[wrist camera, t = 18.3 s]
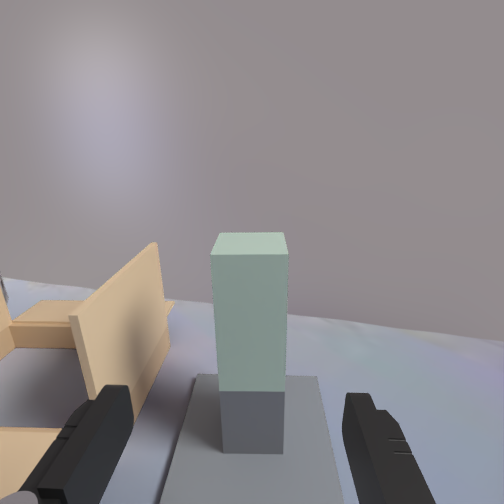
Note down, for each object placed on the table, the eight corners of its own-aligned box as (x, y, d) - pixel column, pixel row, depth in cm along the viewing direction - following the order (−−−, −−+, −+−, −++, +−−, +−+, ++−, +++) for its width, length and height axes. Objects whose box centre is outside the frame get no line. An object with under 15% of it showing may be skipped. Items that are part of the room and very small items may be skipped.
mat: (159, 513, 20) (158, 507, 20) (198, 378, 31) (197, 374, 31) (346, 520, 19) (346, 515, 19) (316, 381, 30) (316, 376, 30)
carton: (-226, 537, 19) (-376, 367, 14) (43, 321, 42) (16, 230, 37) (74, 551, 18) (12, 375, 14) (181, 323, 41) (171, 229, 36)
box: (223, 453, 23) (210, 254, 17) (229, 405, 27) (219, 232, 22) (283, 454, 23) (288, 254, 17) (279, 405, 27) (283, 232, 22)
